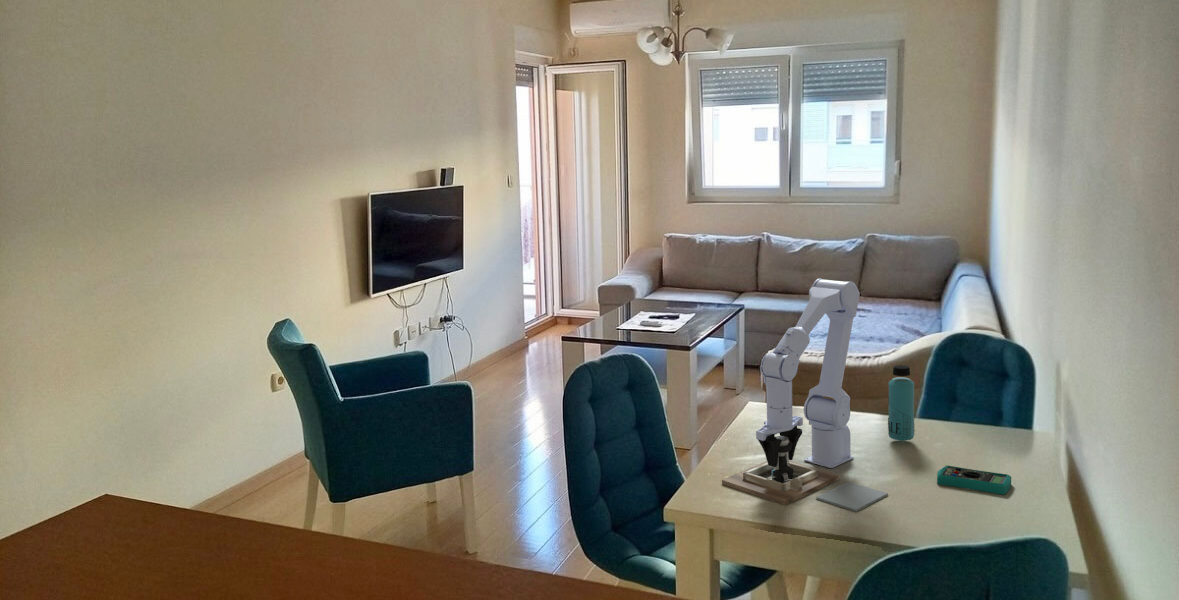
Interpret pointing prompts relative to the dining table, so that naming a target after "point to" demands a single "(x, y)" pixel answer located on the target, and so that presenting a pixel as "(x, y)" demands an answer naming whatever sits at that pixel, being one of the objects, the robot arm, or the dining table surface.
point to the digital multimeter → (974, 479)
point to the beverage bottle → (901, 405)
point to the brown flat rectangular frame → (777, 491)
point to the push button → (783, 461)
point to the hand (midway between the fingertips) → (780, 462)
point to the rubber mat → (852, 496)
